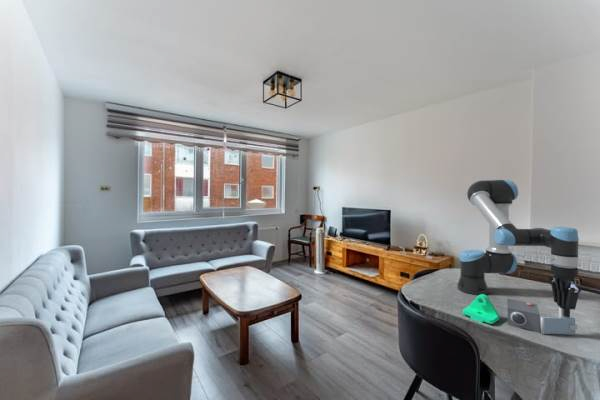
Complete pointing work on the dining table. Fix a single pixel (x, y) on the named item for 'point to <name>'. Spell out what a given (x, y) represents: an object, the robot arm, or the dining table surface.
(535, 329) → the housing
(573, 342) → the dining table surface
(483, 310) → the camera mount
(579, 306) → the dining table surface
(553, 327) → the side door
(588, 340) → the dining table surface
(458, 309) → the dining table surface
